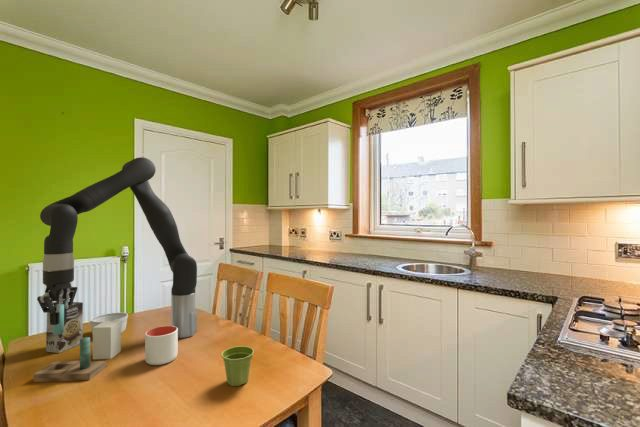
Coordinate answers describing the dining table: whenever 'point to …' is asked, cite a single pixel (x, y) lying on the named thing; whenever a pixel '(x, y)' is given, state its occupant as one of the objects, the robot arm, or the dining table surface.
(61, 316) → the pin
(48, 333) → the coffee box
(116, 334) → the block
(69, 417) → the dining table surface
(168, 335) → the cup
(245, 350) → the plant pot
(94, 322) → the ramekin
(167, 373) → the dining table surface
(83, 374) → the board
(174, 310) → the robot arm
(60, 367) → the board
